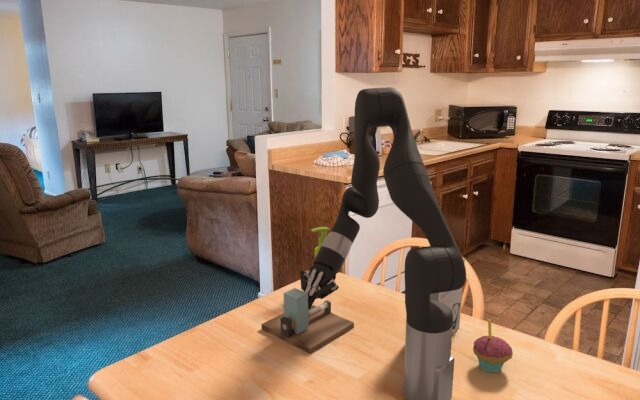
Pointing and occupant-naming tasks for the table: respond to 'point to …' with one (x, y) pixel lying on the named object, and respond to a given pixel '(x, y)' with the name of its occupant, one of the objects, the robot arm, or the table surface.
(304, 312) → the tall pale blue block
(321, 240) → the soap dispenser
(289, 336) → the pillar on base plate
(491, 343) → the cupcake
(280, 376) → the table surface
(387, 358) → the table surface
